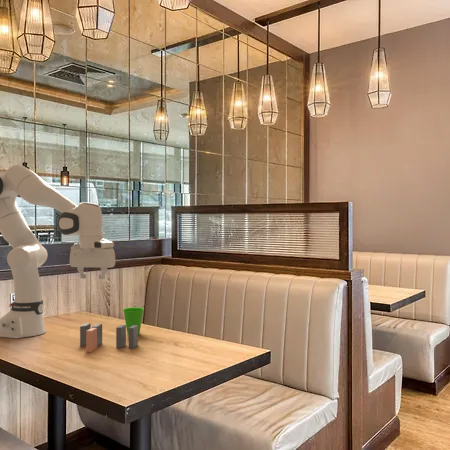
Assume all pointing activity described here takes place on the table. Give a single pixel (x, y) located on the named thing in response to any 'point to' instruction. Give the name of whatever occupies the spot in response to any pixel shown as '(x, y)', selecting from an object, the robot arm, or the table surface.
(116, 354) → the table surface
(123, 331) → the domino
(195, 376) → the table surface
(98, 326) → the domino
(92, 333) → the domino
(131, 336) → the domino
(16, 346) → the table surface
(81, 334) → the domino
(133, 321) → the cup
